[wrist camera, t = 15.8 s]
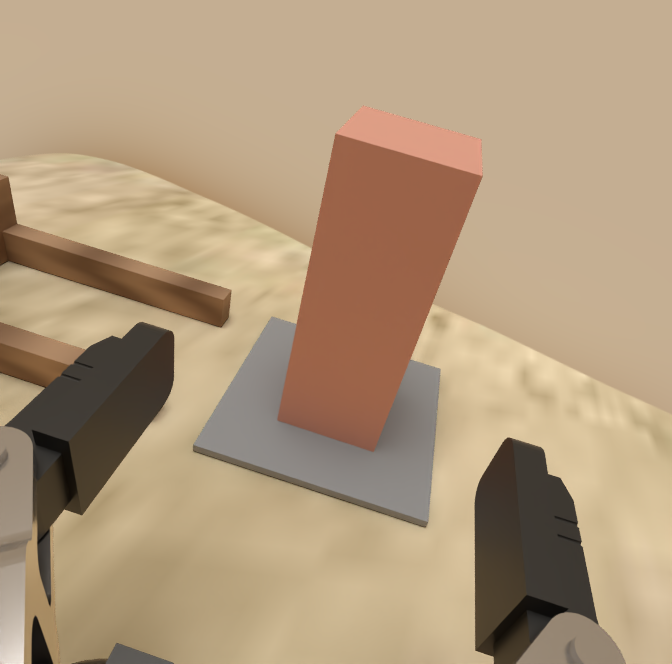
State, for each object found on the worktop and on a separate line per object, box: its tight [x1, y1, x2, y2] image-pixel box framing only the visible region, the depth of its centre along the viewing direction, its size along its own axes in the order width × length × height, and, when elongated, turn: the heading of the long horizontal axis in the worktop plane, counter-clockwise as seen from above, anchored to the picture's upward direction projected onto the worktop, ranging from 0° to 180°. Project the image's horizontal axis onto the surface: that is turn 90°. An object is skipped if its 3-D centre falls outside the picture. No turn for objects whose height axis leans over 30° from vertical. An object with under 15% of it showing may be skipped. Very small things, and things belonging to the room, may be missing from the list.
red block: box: [277, 106, 483, 452], centre depth 22 cm, size 5×5×14 cm
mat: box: [193, 317, 440, 527], centre depth 27 cm, size 11×11×1 cm
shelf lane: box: [0, 174, 231, 387], centre depth 26 cm, size 16×9×5 cm, turn 76°
